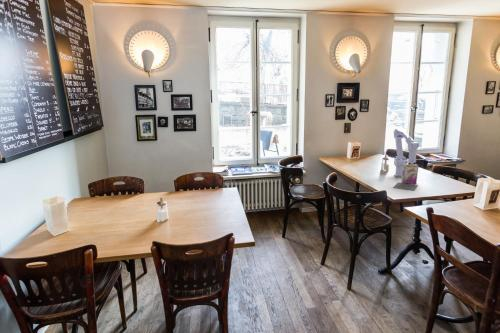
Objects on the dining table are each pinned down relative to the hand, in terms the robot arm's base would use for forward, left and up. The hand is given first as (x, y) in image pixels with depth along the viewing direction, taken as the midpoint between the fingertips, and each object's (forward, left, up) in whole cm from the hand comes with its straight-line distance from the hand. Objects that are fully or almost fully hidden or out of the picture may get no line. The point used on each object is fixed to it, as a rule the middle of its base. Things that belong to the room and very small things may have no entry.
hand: (411, 170), depth 279 cm
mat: (+19, 0, -9) cm, 21 cm away
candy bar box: (+6, 0, -10) cm, 11 cm away
